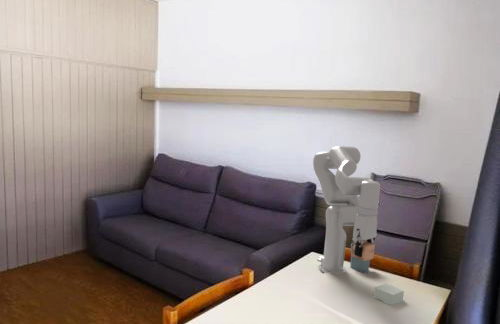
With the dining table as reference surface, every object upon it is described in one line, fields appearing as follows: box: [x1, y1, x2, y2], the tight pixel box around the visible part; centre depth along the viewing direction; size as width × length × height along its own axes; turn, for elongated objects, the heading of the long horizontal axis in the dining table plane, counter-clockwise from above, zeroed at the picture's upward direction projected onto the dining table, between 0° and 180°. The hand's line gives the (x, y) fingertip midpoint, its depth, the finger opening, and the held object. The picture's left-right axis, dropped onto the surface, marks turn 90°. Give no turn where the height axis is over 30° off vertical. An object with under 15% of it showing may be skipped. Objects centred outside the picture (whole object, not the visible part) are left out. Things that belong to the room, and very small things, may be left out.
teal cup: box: [349, 242, 371, 274], centre depth 196 cm, size 10×10×12 cm
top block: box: [352, 240, 376, 261], centre depth 166 cm, size 6×6×6 cm
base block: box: [373, 282, 404, 306], centre depth 164 cm, size 8×8×4 cm
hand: (363, 254), depth 166 cm, fingers closed on top block, 6 cm apart
